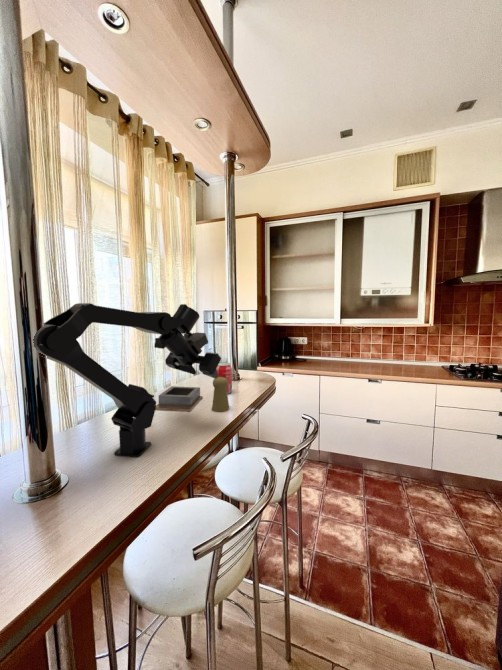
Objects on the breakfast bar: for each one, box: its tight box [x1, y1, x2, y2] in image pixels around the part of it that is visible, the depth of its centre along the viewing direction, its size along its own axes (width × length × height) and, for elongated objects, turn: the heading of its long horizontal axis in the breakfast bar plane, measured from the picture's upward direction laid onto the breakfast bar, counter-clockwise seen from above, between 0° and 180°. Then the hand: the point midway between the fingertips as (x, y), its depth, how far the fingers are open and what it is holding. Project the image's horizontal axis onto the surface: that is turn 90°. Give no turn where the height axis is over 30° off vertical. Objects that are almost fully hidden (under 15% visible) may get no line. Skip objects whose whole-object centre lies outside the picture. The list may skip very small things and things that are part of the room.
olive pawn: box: [211, 377, 230, 413], centre depth 97 cm, size 6×6×11 cm
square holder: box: [155, 385, 203, 413], centre depth 103 cm, size 14×13×4 cm
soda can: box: [216, 362, 233, 395], centre depth 116 cm, size 7×7×12 cm
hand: (205, 375), depth 91 cm, fingers open, 9 cm apart
